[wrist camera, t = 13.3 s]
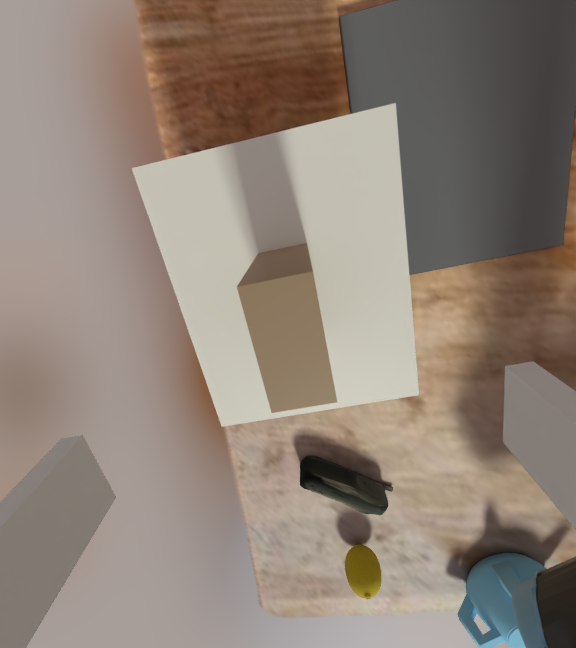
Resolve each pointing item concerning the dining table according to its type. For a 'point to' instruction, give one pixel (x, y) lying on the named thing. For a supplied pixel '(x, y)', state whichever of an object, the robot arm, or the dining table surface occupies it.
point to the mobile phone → (343, 485)
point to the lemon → (363, 571)
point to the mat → (472, 119)
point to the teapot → (495, 598)
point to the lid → (291, 265)
